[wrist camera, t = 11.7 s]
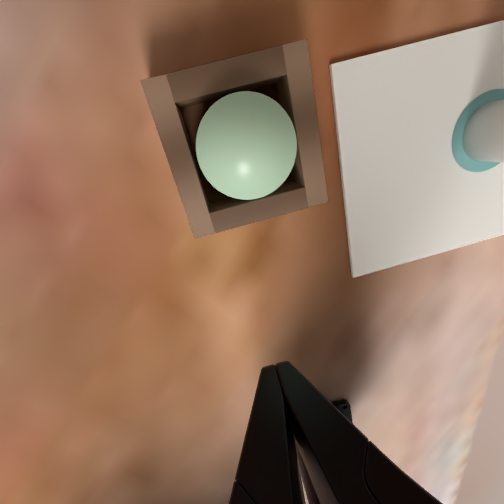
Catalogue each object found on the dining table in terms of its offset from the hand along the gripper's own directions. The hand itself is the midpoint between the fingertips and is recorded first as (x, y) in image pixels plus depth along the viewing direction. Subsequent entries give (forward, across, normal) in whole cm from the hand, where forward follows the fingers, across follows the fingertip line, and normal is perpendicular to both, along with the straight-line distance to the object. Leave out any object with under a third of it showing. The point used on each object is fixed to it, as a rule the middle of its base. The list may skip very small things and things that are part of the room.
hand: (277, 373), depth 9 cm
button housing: (+11, -2, -6) cm, 13 cm away
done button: (+11, -2, -6) cm, 13 cm away
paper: (+11, -16, -3) cm, 19 cm away
